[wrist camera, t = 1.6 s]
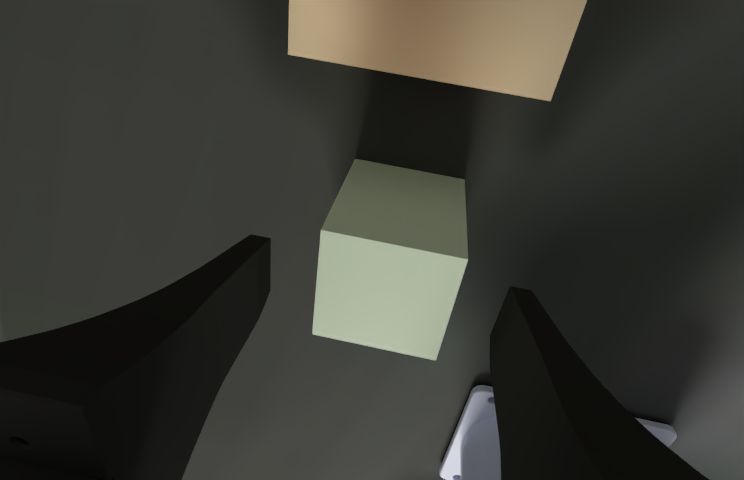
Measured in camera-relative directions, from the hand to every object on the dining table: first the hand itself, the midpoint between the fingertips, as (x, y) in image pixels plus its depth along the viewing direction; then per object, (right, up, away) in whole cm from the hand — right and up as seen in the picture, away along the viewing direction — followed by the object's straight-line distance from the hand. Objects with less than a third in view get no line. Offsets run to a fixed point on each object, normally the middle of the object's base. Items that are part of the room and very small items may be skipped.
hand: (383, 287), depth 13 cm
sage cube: (+1, +2, +4) cm, 5 cm away
